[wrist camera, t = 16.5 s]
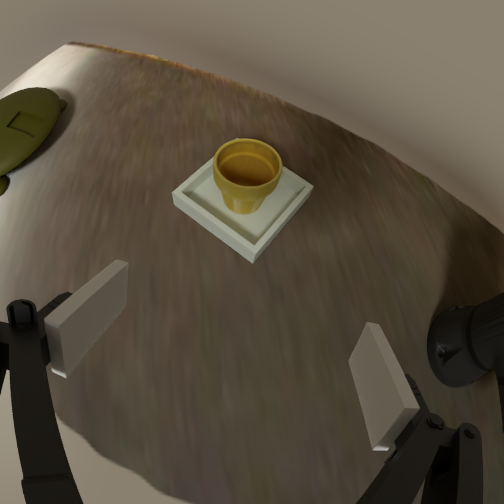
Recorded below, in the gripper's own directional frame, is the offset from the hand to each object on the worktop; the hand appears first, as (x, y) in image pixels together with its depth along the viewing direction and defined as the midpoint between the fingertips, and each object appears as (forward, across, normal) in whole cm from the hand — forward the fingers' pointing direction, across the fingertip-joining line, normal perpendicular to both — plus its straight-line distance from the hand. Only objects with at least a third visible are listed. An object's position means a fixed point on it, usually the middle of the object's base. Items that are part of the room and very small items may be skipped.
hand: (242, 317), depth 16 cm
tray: (+41, -4, -1) cm, 41 cm away
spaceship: (+43, -64, 0) cm, 78 cm away
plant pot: (+40, -4, -1) cm, 40 cm away
